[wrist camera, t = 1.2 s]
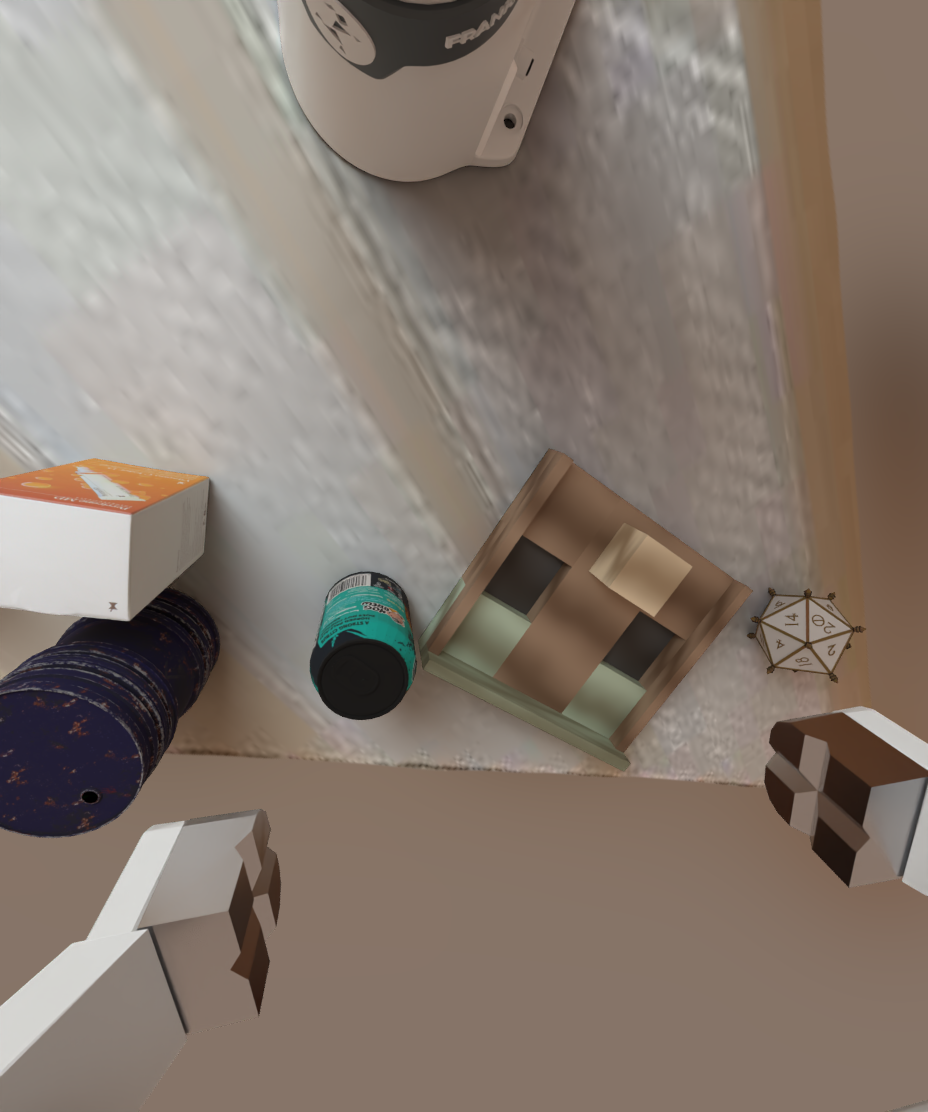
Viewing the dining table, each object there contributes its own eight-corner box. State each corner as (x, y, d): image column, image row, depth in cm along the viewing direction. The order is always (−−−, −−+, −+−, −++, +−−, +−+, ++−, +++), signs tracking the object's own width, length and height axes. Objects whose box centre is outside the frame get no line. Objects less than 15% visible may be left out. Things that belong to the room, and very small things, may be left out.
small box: (211, 475, 39) (134, 513, 27) (205, 554, 40) (131, 625, 28) (91, 455, 37) (-50, 485, 25) (90, 539, 39) (-43, 606, 27)
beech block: (624, 522, 43) (647, 534, 39) (666, 552, 45) (692, 566, 41) (588, 570, 44) (608, 587, 40) (631, 598, 45) (654, 616, 42)
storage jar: (60, 636, 41) (-109, 765, 26) (153, 559, 40) (32, 650, 26) (160, 715, 44) (57, 867, 30) (247, 646, 43) (185, 768, 29)
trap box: (549, 448, 42) (570, 455, 38) (727, 577, 49) (765, 597, 44) (418, 640, 46) (422, 669, 41) (601, 737, 52) (624, 771, 47)
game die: (727, 604, 54) (727, 625, 45) (809, 560, 51) (827, 574, 42) (780, 678, 53) (792, 715, 44) (868, 639, 49) (901, 671, 40)
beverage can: (372, 658, 45) (371, 747, 34) (307, 613, 43) (282, 692, 32) (424, 601, 45) (440, 671, 33) (360, 552, 42) (354, 609, 31)
